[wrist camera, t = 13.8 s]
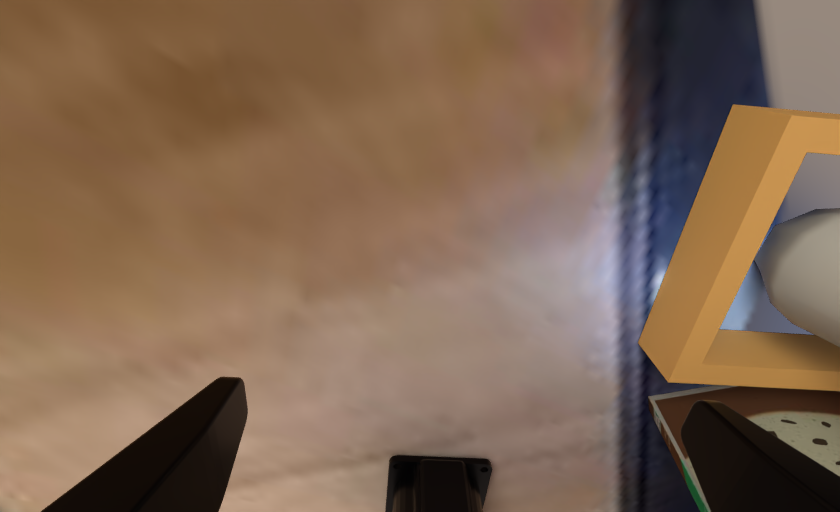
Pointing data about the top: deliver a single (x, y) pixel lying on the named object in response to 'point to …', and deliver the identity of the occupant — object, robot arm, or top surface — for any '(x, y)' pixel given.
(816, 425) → the food container
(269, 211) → the top surface
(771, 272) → the salt shaker
